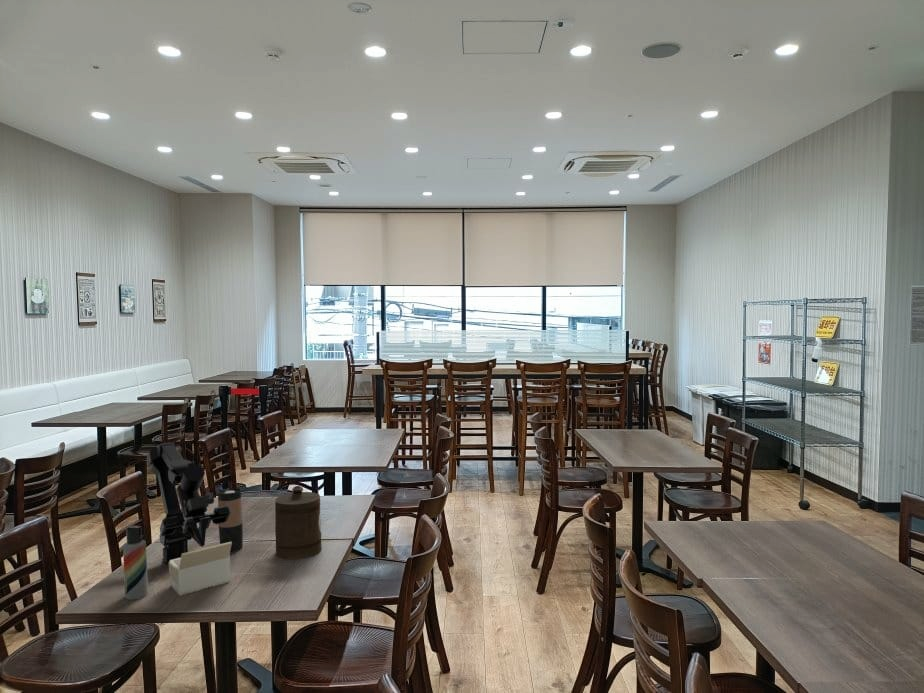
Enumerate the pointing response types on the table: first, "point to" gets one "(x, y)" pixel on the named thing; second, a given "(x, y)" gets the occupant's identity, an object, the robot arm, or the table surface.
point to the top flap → (205, 555)
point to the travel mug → (231, 518)
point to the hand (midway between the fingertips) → (202, 545)
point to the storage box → (198, 575)
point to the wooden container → (297, 524)
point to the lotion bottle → (135, 564)
